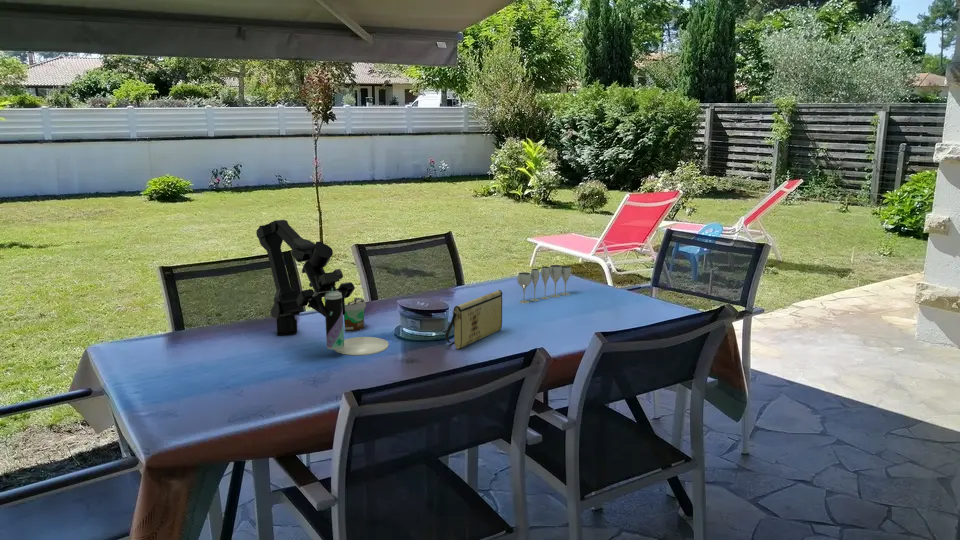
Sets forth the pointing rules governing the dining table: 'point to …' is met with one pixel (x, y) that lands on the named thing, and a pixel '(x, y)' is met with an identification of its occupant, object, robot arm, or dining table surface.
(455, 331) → the clutch purse
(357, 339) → the cream round disc
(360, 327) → the food container
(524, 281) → the goblet set
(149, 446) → the dining table surface
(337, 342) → the spray can
